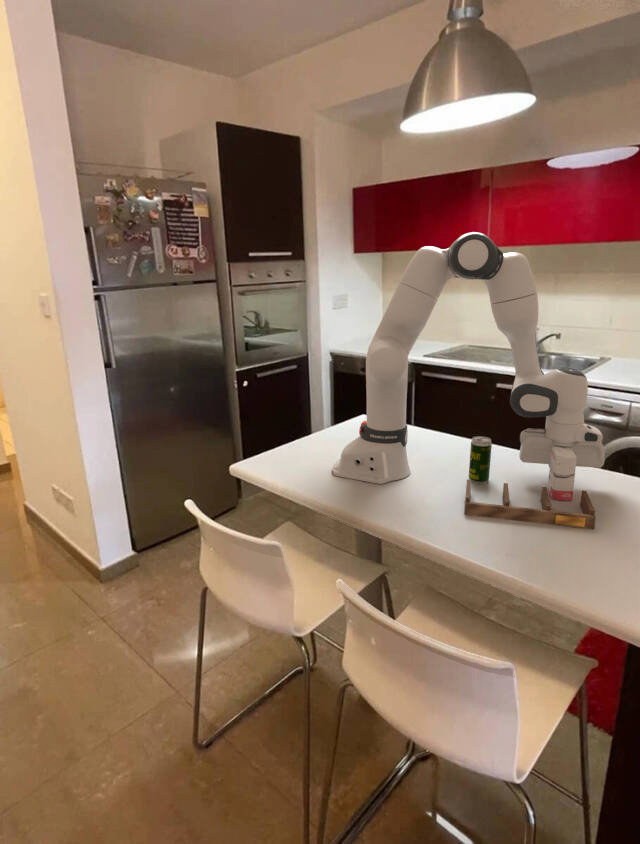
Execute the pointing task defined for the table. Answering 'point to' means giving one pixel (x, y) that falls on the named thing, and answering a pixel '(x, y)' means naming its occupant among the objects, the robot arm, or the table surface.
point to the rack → (533, 510)
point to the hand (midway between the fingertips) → (557, 479)
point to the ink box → (562, 473)
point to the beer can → (480, 460)
